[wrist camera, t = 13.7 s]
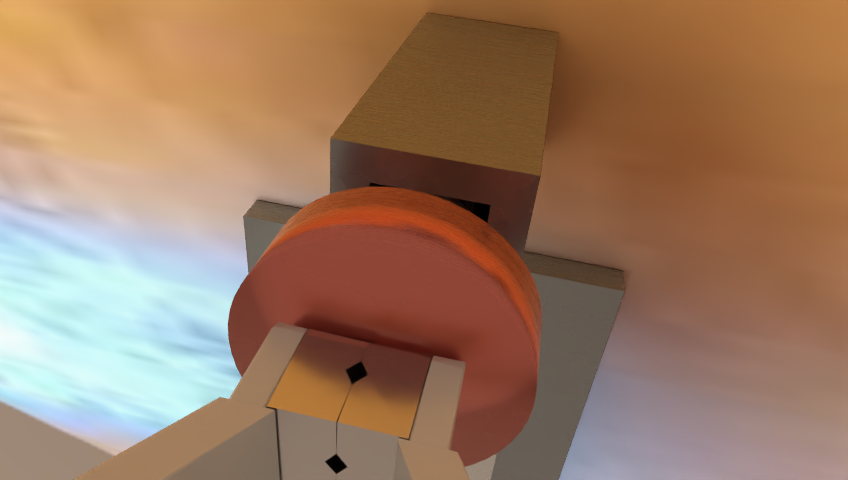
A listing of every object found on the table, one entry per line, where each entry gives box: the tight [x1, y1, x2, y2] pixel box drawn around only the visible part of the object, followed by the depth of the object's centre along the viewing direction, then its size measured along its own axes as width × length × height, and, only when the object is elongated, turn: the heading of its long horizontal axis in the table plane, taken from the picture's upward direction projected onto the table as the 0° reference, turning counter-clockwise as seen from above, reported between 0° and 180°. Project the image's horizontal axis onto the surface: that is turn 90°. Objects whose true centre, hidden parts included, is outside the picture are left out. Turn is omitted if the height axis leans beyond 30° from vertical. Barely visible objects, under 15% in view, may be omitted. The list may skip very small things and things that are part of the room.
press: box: [243, 13, 625, 480], centre depth 22 cm, size 14×22×9 cm, turn 175°
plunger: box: [228, 187, 542, 467], centre depth 14 cm, size 5×5×10 cm
